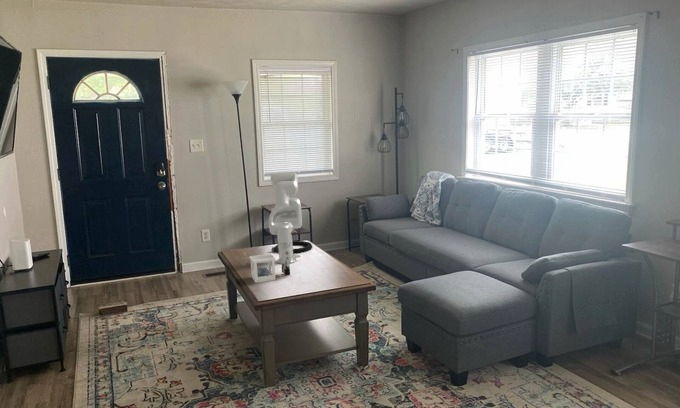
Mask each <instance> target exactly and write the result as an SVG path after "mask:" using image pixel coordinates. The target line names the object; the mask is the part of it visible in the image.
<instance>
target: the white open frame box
mask: <svg viewBox="0 0 680 408" xmlns="http://www.w3.org/2000/svg"><path fill="white" fill-rule="evenodd" d="M249 259H250V269H251V270H250V271H251V272H250V273H251V278H252V279H253V281H254V283H255V284H257V283H263V282H271V281H276V278H277V277H275V275H276V267H275V266H276V265H275V261H276V258H275V257H274V255H272V253H265V254H263V253H262V254H258V255H257V254H256V255H250V256H249ZM258 263H259V264H261V263H267V269H268V275H267V276H260V277H258V273H257V268H258Z"/></svg>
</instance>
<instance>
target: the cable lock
mask: <svg viewBox="0 0 680 408" xmlns="http://www.w3.org/2000/svg"><path fill="white" fill-rule="evenodd" d="M292 243H293V247H294V246H301V247H299V248H293V253H296V254H302V253H301V252H303V253H306V252H309V251H310V250H312V248H313V244H312V243H311V242H309V241H304V240H292ZM271 252H272V253H275V254H276V253H278V254H279V249H278V243H277V244H276V245H275V246H274V247H273V246H272V248H271Z"/></svg>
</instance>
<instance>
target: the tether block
mask: <svg viewBox="0 0 680 408" xmlns="http://www.w3.org/2000/svg"><path fill="white" fill-rule="evenodd" d="M286 266H287V265H286ZM284 269H285V266H284V265H283V273H279V274H275V278H280V277H288V276H289V275H286V276H285V271H284ZM257 273H258V277H260V276H267V275H268V267H267V266H263V267H257Z"/></svg>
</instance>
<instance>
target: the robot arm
mask: <svg viewBox="0 0 680 408" xmlns="http://www.w3.org/2000/svg"><path fill="white" fill-rule="evenodd" d="M269 177H270V182H271V185H272V187H273V189H274V199H275V200H274V201H275V202H274V203H275V206H274V208H273V209H272V210H271V212H270V214H269V219H268V225H269V226H268V227H269V232H270V234H271V235H272V236H273V235H274V236H276V237H277V244H278V249H279V253H278V259H277V260H276V263H277V264H281V274H283V265H284V266H285V269H284V271H285V276H284V277H287V276H286V275H288V276H291V268H290V264H293V263H295V262H296V261H297V258H301V254H298V253H296V254H293V249H294V248H293V247H294V246H293V243H292V241H293V235H292V232H293V231H294V230H295V229H296V230H298V229H300V228H302V226H303V218H302V215H303V214H302V205H301V203H302V202H301V200H300V199H299V198H298V197H290V195H297V194H298V192H299V191H298V190H299V177H298V174H297V173H296V172H294V171H287V172H285V171H283V172H275V173H272V174H271V175H270V176H269ZM278 213H280V215H277V214H278ZM281 213H282V214H281ZM291 213H292V214H291ZM276 215H277V216H276ZM275 216H276V217H275ZM274 218H275V220H274ZM274 221H275V222H274ZM286 265H287V266H286Z"/></svg>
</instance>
